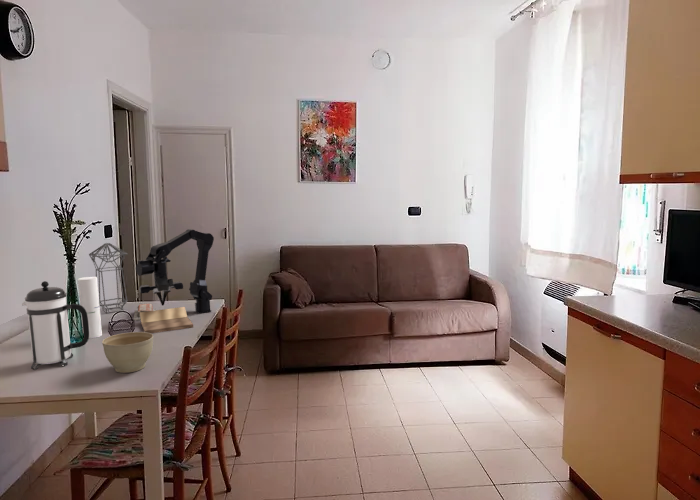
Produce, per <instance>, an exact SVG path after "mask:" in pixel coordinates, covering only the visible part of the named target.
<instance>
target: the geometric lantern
mask: <svg viewBox="0 0 700 500" xmlns="http://www.w3.org/2000/svg"><path fill="white" fill-rule="evenodd" d="M110 247H111V248H112V249H113V250H114V251H111V248H110ZM117 253H119V254H117ZM126 255H129V254H128V253H127V252H126V251H124V250H123V249H121V248H119V247H117V246H116V245H113V243H110V242H106V243H103V244H102V245H101V246H98V248H96V249H95V250H93V251H92V252H90V253H88V256H89V257H90V259H91V261H92V263H93V265H94V268H95V277H97V278H98V294H99V306H100V307H101V310H102V311H103V312H104V313H106V314H112V313H118V312H117V311H118V310H115V311H110V310H112V309H120V310H123V311H124V306H125V305H127V303H128V298H127V290H126V284H125V278H124V268H123V267H122V262H123V260H124V259H125V258H126V257H125V256H126ZM114 257H116V258H114ZM96 258H98V259H99V260H101V263H100V265H98V264H97V262H96ZM111 258H112V260H111ZM119 258H120V262H119V265H118V264H117V262H116V260H118V259H119ZM103 262H105V263H104V265H103V266H102V264H103ZM108 263H111V264H112V265H113V266H108V267H105V266H106V264H108ZM112 268H115V277H116V278H115V279H116V289H117V292H116V293H117V294H116V295H117V298H110V299H106V297H105V288H104V287H105V286H104V278H103V272H110V271H112V272H113V271H114V269H112ZM105 269H107V270H105ZM121 275H122V277H121ZM118 277H119V279H118ZM118 280H119V281H118ZM118 282H119V283H118ZM122 282H123V283H122ZM101 284H102V294H103V300H101ZM119 284H120V289H121V297H119ZM124 296H125V297H124ZM114 300H117V301H116V302H115V303H108V304H106V302H109V301H114ZM119 300H121V301H120V302H119ZM102 302H103V303H102ZM111 306H115V307H111Z"/></svg>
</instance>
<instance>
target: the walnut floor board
mask: <svg viewBox="0 0 700 500" xmlns="http://www.w3.org/2000/svg"><path fill="white" fill-rule="evenodd" d="M141 327H142V330H143V332H147V333H151V334H156V333H157V334H158V333H164V332H170V331H179V330H184V329H190V328H192V329H193V328H194V323H193V322H192V321H191V319H190V318H189V317H188V316H187V317H186V318H178V319H171V320H163V321H156V322H148V323H142V324H141Z"/></svg>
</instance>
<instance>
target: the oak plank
mask: <svg viewBox="0 0 700 500" xmlns="http://www.w3.org/2000/svg"><path fill="white" fill-rule="evenodd" d="M186 317H188V315H187V310H186V307H185V306H180V307H173V308H164V309H156V310H155V311H147V312H140V318H141V320H140V323H141V325H142V323H148V322H156V321H163V320H171V319H178V318H186Z"/></svg>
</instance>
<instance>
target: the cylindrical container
mask: <svg viewBox="0 0 700 500" xmlns="http://www.w3.org/2000/svg"><path fill="white" fill-rule="evenodd" d="M77 282H78V283H77V284H78V292H79V293H78V294H79V302H80V303H79V305H81V306H83V307H84V308H85V310H86V312H87V316H88V324H89V339H95V338H99V337H101V336H103V333H102V329H103V328H102V320H101V308H100V307H101V306H99V282H98V276H97V277H96V276H83V277H80V278H77ZM80 316H81V318H82V315H81V314H80ZM81 326H82V327H83V322H82V321H81Z"/></svg>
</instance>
